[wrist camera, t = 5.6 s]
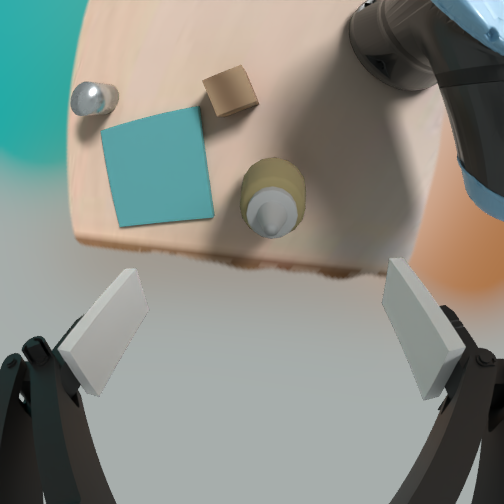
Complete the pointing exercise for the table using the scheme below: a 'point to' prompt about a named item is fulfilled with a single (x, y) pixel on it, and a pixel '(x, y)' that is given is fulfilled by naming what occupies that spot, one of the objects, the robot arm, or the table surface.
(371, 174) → the table surface
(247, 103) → the walnut block
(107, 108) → the grey metal tin
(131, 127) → the teal mat
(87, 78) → the table surface
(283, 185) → the squeeze bottle
